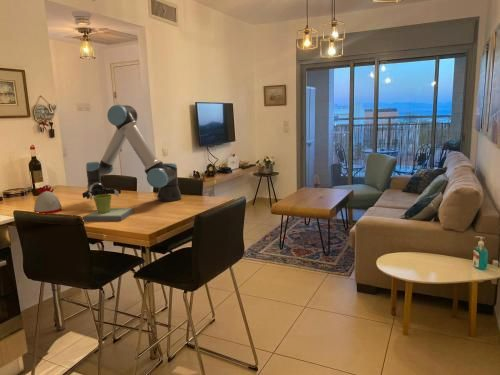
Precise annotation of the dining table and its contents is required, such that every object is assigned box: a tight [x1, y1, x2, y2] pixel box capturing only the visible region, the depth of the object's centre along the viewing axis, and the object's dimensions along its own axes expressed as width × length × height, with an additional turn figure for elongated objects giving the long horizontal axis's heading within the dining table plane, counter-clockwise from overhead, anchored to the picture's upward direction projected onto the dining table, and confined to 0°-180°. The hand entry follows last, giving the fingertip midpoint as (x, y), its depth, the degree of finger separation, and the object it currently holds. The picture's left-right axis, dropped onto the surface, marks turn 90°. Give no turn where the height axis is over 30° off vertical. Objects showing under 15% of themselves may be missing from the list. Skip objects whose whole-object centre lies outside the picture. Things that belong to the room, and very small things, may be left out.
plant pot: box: [92, 194, 113, 213], centre depth 194 cm, size 9×9×9 cm
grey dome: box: [33, 185, 63, 214], centre depth 210 cm, size 14×14×15 cm
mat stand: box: [82, 207, 135, 222], centre depth 196 cm, size 20×18×3 cm
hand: (104, 195), depth 201 cm, fingers open, 13 cm apart
